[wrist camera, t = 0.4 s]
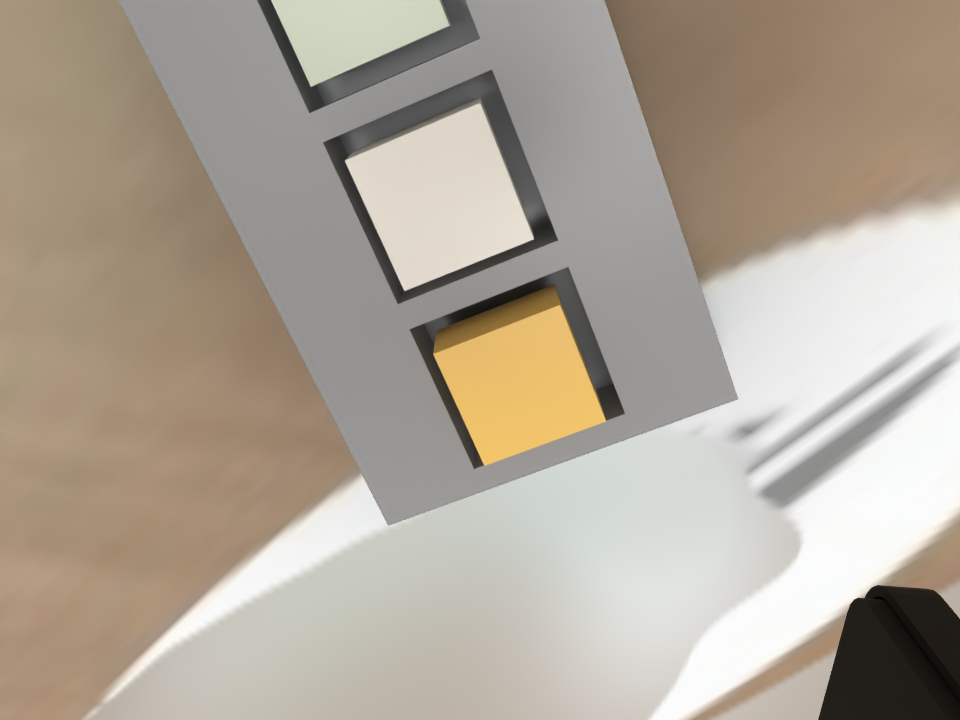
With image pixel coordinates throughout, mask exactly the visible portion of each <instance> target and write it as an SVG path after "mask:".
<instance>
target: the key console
mask: <svg viewBox="0 0 960 720" xmlns="http://www.w3.org/2000/svg"><path fill="white" fill-rule="evenodd" d="M118 1H119V3H120V5H121V7H122V9H123V11H124V13H125V14H126V16H127V18H128V20H129V22H130V24H131V26H132V28H133V30H134V32H135V34H136V36H137V38H138V40H139V42H140V44H141V46H142V48H143V49H144V51H145V53H146V55H147V57H148V59H149V61H150V63H151V65H152V67H153V69H154V71H155V73H156V75H157V77H158V79H159V81H160V83H161V84H162V86H163V88H164V90H165V92H166V94H167V96H168V98H169V100H170V102H171V104H172V106H173V108H174V110H175V112H176V114H177V116H178V118H179V119H180V121H181V123H182V125H183V127H184V129H185V131H186V133H187V135H188V137H189V139H190V141H191V143H192V145H193V147H194V149H195V151H196V153H197V154H198V156H199V158H200V160H201V162H202V164H203V166H204V168H205V170H206V172H207V174H208V176H209V178H210V180H211V182H212V184H213V186H214V188H215V189H216V191H217V193H218V195H219V197H220V199H221V201H222V203H223V205H224V207H225V209H226V211H227V213H228V215H229V217H230V219H231V221H232V223H233V224H234V226H235V228H236V230H237V232H238V234H239V236H240V238H241V240H242V242H243V244H244V246H245V248H246V250H247V252H248V254H249V256H250V258H251V259H252V261H253V263H254V265H255V267H256V269H257V271H258V273H259V275H260V277H261V279H262V281H263V283H264V285H265V287H266V289H267V291H268V293H269V294H270V296H271V298H272V300H273V302H274V304H275V306H276V308H277V310H278V312H279V314H280V316H281V318H282V320H283V322H284V324H285V326H286V328H287V329H288V331H289V333H290V335H291V337H292V339H293V341H294V343H295V345H296V347H297V349H298V351H299V353H300V355H301V357H302V359H303V361H304V363H305V364H306V366H307V368H308V370H309V372H310V374H311V376H312V378H313V380H314V382H315V384H316V386H317V388H318V390H319V392H320V394H321V396H322V398H323V400H324V401H325V403H326V405H327V407H328V409H329V411H330V413H331V415H332V417H333V419H334V421H335V423H336V425H337V427H338V429H339V431H340V433H341V435H342V436H343V438H344V440H345V442H346V444H347V446H348V448H349V450H350V452H351V454H352V456H353V458H354V460H355V462H356V464H357V466H358V468H359V470H360V471H361V473H362V475H363V477H364V479H365V481H366V483H367V485H368V487H369V489H370V491H371V493H372V495H373V497H374V499H375V501H376V503H377V505H378V506H379V508H380V510H381V512H382V514H383V516H384V518H385V520H386V522H387V524H388V526H389V525H391V524H394V523H397V522H400V521H402V520H405V519H408V518H411V517H413V516H416V515H419V514H422V513H425V512H427V511H430V510H433V509H436V508H438V507H441V506H444V505H447V504H449V503H452V502H455V501H458V500H460V499H463V498H466V497H469V496H472V495H474V494H477V493H480V492H483V491H485V490H488V489H491V488H494V487H496V486H499V485H502V484H505V483H507V482H510V481H513V480H516V479H518V478H521V477H524V476H527V475H530V474H532V473H535V472H538V471H540V470H543V469H546V468H549V467H551V466H554V465H557V464H560V463H563V462H565V461H568V460H571V459H574V458H576V457H579V456H582V455H585V454H588V453H590V452H593V451H596V450H599V449H601V448H604V447H607V446H610V445H612V444H615V443H618V442H620V441H624V440H626V439H629V438H632V437H634V436H637V435H640V434H643V433H646V432H648V431H651V430H654V429H657V428H659V427H662V426H665V425H668V424H671V423H673V422H676V421H679V420H682V419H684V418H687V417H690V416H693V415H695V414H698V413H701V412H704V411H706V410H709V409H712V408H715V407H718V406H720V405H723V404H726V403H729V402H731V401H734V400H737V399H738V397H737V394H736V391H735V388H734V385H733V382H732V379H731V376H730V373H729V370H728V367H727V364H726V361H725V358H724V356H723V353H722V350H721V347H720V344H719V341H718V338H717V335H716V332H715V329H714V326H713V323H712V320H711V317H710V314H709V311H708V308H707V305H706V302H705V299H704V296H703V293H702V290H701V287H700V284H699V281H698V278H697V275H696V272H695V269H694V266H693V263H692V260H691V257H690V254H689V251H688V248H687V245H686V242H685V239H684V236H683V233H682V230H681V227H680V224H679V221H678V218H677V215H676V212H675V209H674V206H673V203H672V200H671V197H670V194H669V191H668V188H667V185H666V182H665V179H664V176H663V173H662V170H661V167H660V164H659V161H658V158H657V155H656V152H655V149H654V146H653V143H652V140H651V137H650V135H649V132H648V129H647V126H646V123H645V120H644V117H643V114H642V111H641V108H640V105H639V102H638V99H637V96H636V93H635V90H634V87H633V84H632V81H631V78H630V75H629V72H628V69H627V66H626V63H625V60H624V57H623V54H622V51H621V48H620V45H619V42H618V39H617V36H616V33H615V30H614V27H613V24H612V21H611V18H610V15H609V12H608V9H607V6H606V3H605V0H442V1H443V4H444V6H445V9H446V11H447V14H448V16H449V19H450V21H451V24H452V26H450V27H448V28H446V29H443V30H441V31H439V32H437V33H434V34H432V35H430V36H428V37H425V38H423V39H421V40H419V41H416V42H414V43H412V44H410V45H407V46H405V47H403V48H400V49H398V50H396V51H394V52H391V53H389V54H387V55H385V56H382V57H380V58H378V59H376V60H373V61H371V62H369V63H366V64H364V65H362V66H360V67H357V68H355V69H353V70H351V71H348V72H346V73H344V74H342V75H339V76H337V77H335V78H332V79H330V80H328V81H326V82H323V83H320V84H317V85H315V86H312V87H311V86H310V84H309V82H308V80H307V77H306V75H305V73H304V71H303V69H302V66H301V64H300V62H299V60H298V58H297V55H296V53H295V51H294V49H293V47H292V45H291V42H290V40H289V38H288V36H287V34H286V31H285V29H284V27H283V25H282V23H281V21H280V18H279V16H278V14H277V12H276V10H275V7H274V5H273V3H272V1H271V0H118ZM479 97H481V100H482V102H483V105H484V108H485V110H486V113H487V115H488V118H489V120H490V123H491V125H492V128H493V130H494V133H495V135H496V138H497V140H498V143H499V146H500V148H501V151H502V153H503V156H504V158H505V161H506V163H507V166H508V168H509V171H510V173H511V176H512V178H513V181H514V184H515V186H516V189H517V191H518V194H519V196H520V199H521V201H522V204H523V206H524V209H525V211H526V214H527V216H528V219H529V222H530V225H531V229H532V233H533V237H534V240H531V241H529V242H526V243H524V244H521V245H519V246H516V247H514V248H511V249H509V250H506V251H504V252H501V253H499V254H496V255H494V256H491V257H489V258H486V259H484V260H481V261H479V262H476V263H474V264H471V265H469V266H466V267H464V268H461V269H459V270H456V271H454V272H451V273H449V274H446V275H444V276H441V277H439V278H436V279H434V280H431V281H429V282H426V283H424V284H421V285H419V286H416V287H414V288H411V289H409V290H406V291H404V289H403V287H402V285H401V283H400V280H399V278H398V276H397V274H396V272H395V270H394V267H393V265H392V263H391V261H390V259H389V256H388V254H387V252H386V250H385V248H384V246H383V243H382V241H381V239H380V237H379V235H378V232H377V230H376V228H375V226H374V224H373V222H372V219H371V217H370V215H369V213H368V211H367V208H366V206H365V204H364V202H363V200H362V197H361V195H360V193H359V191H358V189H357V187H356V184H355V182H354V180H353V178H352V176H351V173H350V171H349V169H348V167H347V165H346V163H345V160H346V159H347V158H348V157H349V156H350V155H351V154H352V153H353V152H354V151H355V150H357V149H359V148H362V147H364V146H366V145H369V144H371V143H373V142H376V141H378V140H380V139H383V138H385V137H388V136H390V135H392V134H395V133H397V132H399V131H402V130H404V129H406V128H409V127H411V126H413V125H416V124H418V123H420V122H423V121H425V120H427V119H430V118H432V117H434V116H437V115H439V114H441V113H444V112H446V111H448V110H451V109H453V108H455V107H458V106H460V105H462V104H465V103H467V102H469V101H472V100H474V99H476V98H479ZM552 285H555V287H556V290H557V292H558V295H559V298H560V300H561V303H562V305H563V308H564V310H565V313H566V315H567V318H568V320H569V323H570V325H571V328H572V330H573V333H574V336H575V338H576V341H577V343H578V346H579V348H580V351H581V353H582V356H583V358H584V361H585V363H586V366H587V368H588V371H589V374H590V376H591V379H592V381H593V384H594V386H595V389H596V391H597V394H598V397H599V400H600V403H601V407H602V410H603V413H604V416H605V419H606V422H603V423H601V424H598V425H595V426H592V427H590V428H587V429H584V430H582V431H579V432H576V433H573V434H571V435H568V436H565V437H562V438H560V439H557V440H554V441H551V442H549V443H546V444H543V445H541V446H538V447H535V448H532V449H530V450H527V451H524V452H521V453H519V454H516V455H513V456H510V457H508V458H505V459H502V460H500V461H497V462H494V463H491V464H489V465H486V466H484V464H483V462H482V460H481V457H480V455H479V453H478V451H477V449H476V447H475V444H474V442H473V440H472V438H471V436H470V433H469V431H468V429H467V427H466V425H465V422H464V420H463V418H462V416H461V414H460V412H459V409H458V407H457V405H456V403H455V401H454V398H453V396H452V394H451V392H450V390H449V388H448V385H447V383H446V381H445V379H444V377H443V374H442V372H441V370H440V368H439V366H438V363H437V361H436V359H435V357H434V355H433V352H434V345H435V339H436V332H437V330H439V329H442V328H444V327H447V326H449V325H452V324H455V323H457V322H460V321H462V320H465V319H467V318H470V317H472V316H475V315H478V314H480V313H483V312H485V311H488V310H490V309H493V308H495V307H498V306H501V305H503V304H506V303H508V302H511V301H513V300H516V299H518V298H521V297H524V296H526V295H529V294H531V293H534V292H536V291H539V290H541V289H544V288H546V287H549V286H552Z"/></svg>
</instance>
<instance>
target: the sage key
mask: <svg viewBox="0 0 960 720" xmlns="http://www.w3.org/2000/svg"><path fill="white" fill-rule="evenodd" d="M271 1H272V3H273V5H274V7H275V10H276V12H277V14H278V16H279V18H280V21H281V23H282V25H283V27H284V29H285V31H286V34H287V36H288V38H289V40H290V42H291V45H292V47H293V49H294V51H295V53H296V55H297V58H298V60H299V62H300V64H301V66H302V69H303V71H304V73H305V75H306V77H307V80H308V82H309V84H310V86H311V87H312V86H315V85H317V84H320V83H323V82H326V81H328V80H330V79H332V78H335V77H337V76H339V75H342V74H344V73H346V72H348V71H351V70H353V69H355V68H357V67H360V66H362V65H364V64H366V63H369V62H371V61H373V60H376V59H378V58H380V57H382V56H385V55H387V54H389V53H391V52H394V51H396V50H398V49H400V48H403V47H405V46H407V45H410V44H412V43H414V42H416V41H419V40H421V39H423V38H425V37H428V36H430V35H432V34H434V33H437V32H439V31H441V30H443V29H446V28H448V27H450V26H452V24H451V21H450V19H449V16H448V14H447V11H446V9H445V6H444V4H443V1H442V0H271Z"/></svg>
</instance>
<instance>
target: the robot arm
mask: <svg viewBox="0 0 960 720" xmlns="http://www.w3.org/2000/svg"><path fill="white" fill-rule="evenodd" d="M818 720H960V619H959V617H958V616H957V615H956V614H955V613H954V612H953V610H952V609H951V608H950V607H949V605H948V604H947V603H946V602H945V601H944V599H943V598H942V597H941V596H940V595H939V594H938V593H936V592H935V591H934V590H930V589H922V588H908V587H895V586H881V585H877V586H874V587H872V588H871V589H870V590H869V591H868V593H867V594H866V596H865V598H857V599H855V600H854V601H853V602H852V603H851V604H850V607H849V610H848V612H847V616H846V620H845V624H844V627H843V631H842V635H841V638H840V642H839V646H838V649H837V653H836V657H835V660H834V664H833V668H832V671H831V675H830V679H829V683H828V686H827V690H826V693H825V697H824V701H823V704H822V708H821V712H820V715H819V719H818Z"/></svg>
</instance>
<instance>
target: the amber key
mask: <svg viewBox="0 0 960 720" xmlns="http://www.w3.org/2000/svg"><path fill="white" fill-rule="evenodd" d="M433 355H434V357H435V359H436V361H437V363H438V366H439V368H440V370H441V372H442V374H443V377H444V379H445V381H446V383H447V385H448V388H449V390H450V392H451V394H452V396H453V398H454V401H455V403H456V405H457V407H458V409H459V412H460V414H461V416H462V418H463V420H464V422H465V425H466V427H467V429H468V431H469V433H470V436H471V438H472V440H473V442H474V444H475V447H476V449H477V451H478V453H479V455H480V457H481V460H482V462H483V464H484V466H486V465H489V464H491V463H494V462H497V461H500V460H502V459H505V458H508V457H510V456H513V455H516V454H519V453H521V452H524V451H527V450H530V449H532V448H535V447H538V446H541V445H543V444H546V443H549V442H551V441H554V440H557V439H560V438H562V437H565V436H568V435H571V434H573V433H576V432H579V431H582V430H584V429H587V428H590V427H592V426H595V425H598V424H601V423H603V422H606V419H605V416H604V413H603V410H602V407H601V403H600V400H599V397H598V394H597V391H596V389H595V386H594V384H593V381H592V379H591V376H590V374H589V371H588V368H587V366H586V363H585V361H584V358H583V356H582V353H581V351H580V348H579V346H578V343H577V341H576V338H575V336H574V333H573V330H572V328H571V325H570V323H569V320H568V318H567V315H566V313H565V310H564V308H563V305H562V303H561V300H560V298H559V295H558V292H557V290H556V287H555V285H552V286H549V287H546V288H544V289H541V290H539V291H536V292H534V293H531V294H529V295H526V296H524V297H521V298H518V299H516V300H513V301H511V302H508V303H506V304H503V305H501V306H498V307H495V308H493V309H490V310H488V311H485V312H483V313H480V314H478V315H475V316H472V317H470V318H467V319H465V320H462V321H460V322H457V323H455V324H452V325H449V326H447V327H444V328H442V329H439V330H437V332H436V339H435V345H434V352H433Z"/></svg>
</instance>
